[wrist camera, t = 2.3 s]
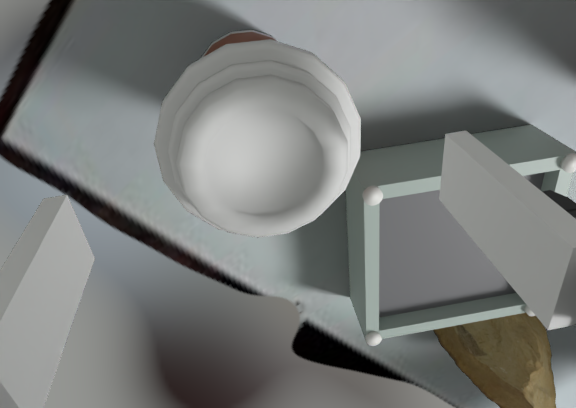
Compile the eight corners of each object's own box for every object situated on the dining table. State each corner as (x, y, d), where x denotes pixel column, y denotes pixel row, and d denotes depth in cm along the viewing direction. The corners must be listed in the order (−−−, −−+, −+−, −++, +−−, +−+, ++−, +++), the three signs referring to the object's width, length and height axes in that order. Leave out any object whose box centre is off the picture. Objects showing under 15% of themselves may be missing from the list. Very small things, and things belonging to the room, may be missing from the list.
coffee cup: (332, 126, 31) (389, 223, 20) (205, 166, 31) (200, 281, 21) (298, -17, 26) (352, 18, 16) (148, 32, 26) (104, 98, 16)
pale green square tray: (503, 271, 40) (540, 314, 36) (349, 298, 39) (366, 347, 35) (533, 123, 33) (584, 154, 28) (342, 153, 32) (364, 190, 27)
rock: (407, 352, 41) (467, 406, 44) (489, 382, 33) (553, 444, 37) (458, 257, 44) (510, 313, 48) (542, 264, 37) (597, 330, 40)
